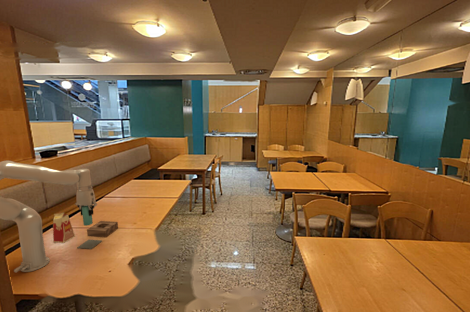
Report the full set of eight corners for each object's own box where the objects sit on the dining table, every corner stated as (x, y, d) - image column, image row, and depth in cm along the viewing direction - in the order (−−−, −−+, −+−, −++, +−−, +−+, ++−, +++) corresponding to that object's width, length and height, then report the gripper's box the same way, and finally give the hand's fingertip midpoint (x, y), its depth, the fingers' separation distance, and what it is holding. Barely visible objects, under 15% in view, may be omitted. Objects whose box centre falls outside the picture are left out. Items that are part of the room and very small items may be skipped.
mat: (91, 249, 142) (91, 248, 141) (77, 248, 143) (77, 247, 142) (102, 241, 151) (102, 240, 151) (88, 240, 152) (88, 239, 152)
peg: (88, 225, 142) (87, 208, 140) (81, 225, 143) (79, 207, 141) (94, 222, 147) (92, 205, 145) (87, 221, 147) (85, 204, 146)
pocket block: (105, 237, 156) (105, 230, 156) (87, 236, 158) (86, 229, 157) (118, 227, 170) (117, 221, 169) (101, 226, 172) (100, 220, 171)
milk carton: (75, 236, 157) (72, 209, 154) (64, 243, 148) (60, 215, 145) (63, 235, 158) (60, 209, 155) (51, 242, 149) (48, 214, 146)
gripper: (101, 186, 144) (103, 213, 147) (77, 185, 145) (79, 211, 148) (92, 190, 136) (95, 218, 139) (67, 189, 138) (70, 216, 141)
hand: (87, 214), depth 144 cm, fingers closed on peg, 5 cm apart
